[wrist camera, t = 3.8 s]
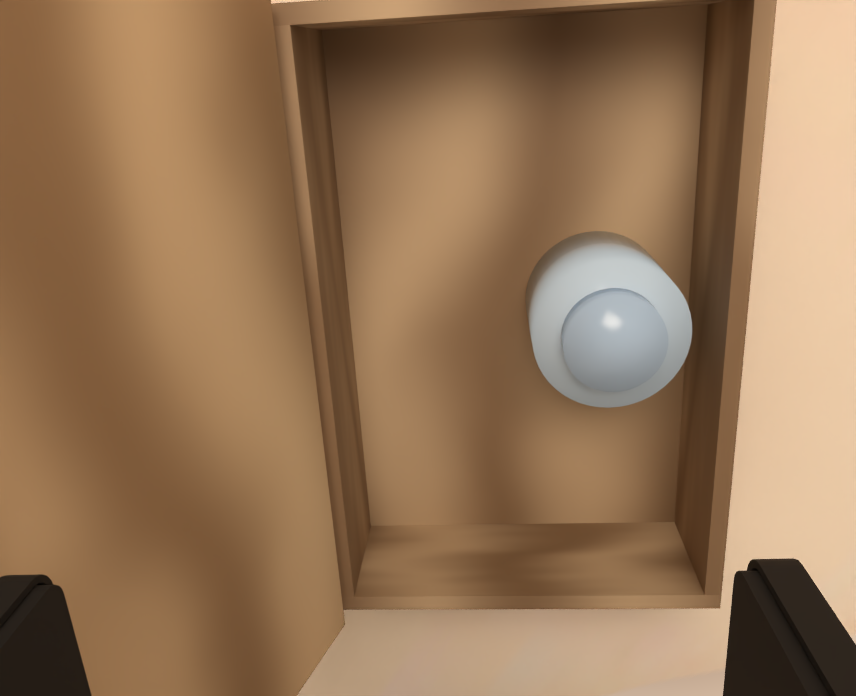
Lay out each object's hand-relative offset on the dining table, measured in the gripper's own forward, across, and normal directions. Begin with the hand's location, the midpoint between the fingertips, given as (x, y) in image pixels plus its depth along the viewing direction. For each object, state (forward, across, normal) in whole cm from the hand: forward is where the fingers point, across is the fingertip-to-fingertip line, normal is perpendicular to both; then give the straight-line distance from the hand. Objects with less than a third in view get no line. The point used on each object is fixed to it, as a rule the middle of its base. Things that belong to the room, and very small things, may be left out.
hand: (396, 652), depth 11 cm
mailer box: (+16, -3, 0) cm, 16 cm away
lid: (+5, +4, 0) cm, 6 cm away
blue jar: (+16, -5, 0) cm, 16 cm away
